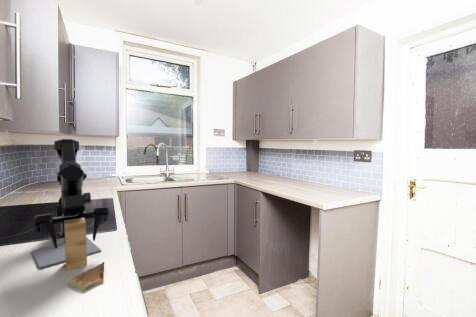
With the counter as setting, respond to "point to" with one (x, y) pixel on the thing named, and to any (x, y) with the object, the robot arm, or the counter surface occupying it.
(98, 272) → the shard
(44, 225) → the robot arm
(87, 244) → the slate mat
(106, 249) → the counter surface
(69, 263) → the wood block
